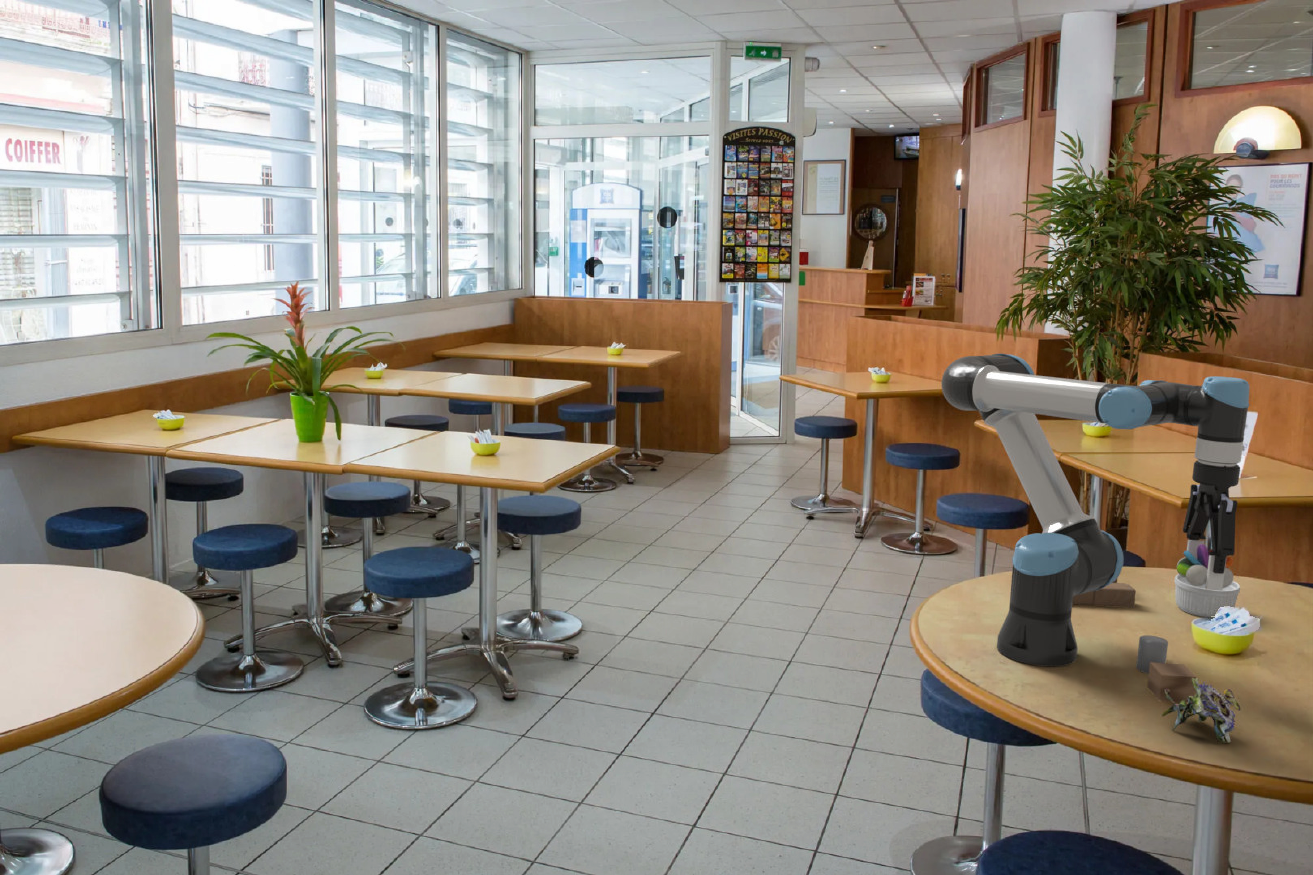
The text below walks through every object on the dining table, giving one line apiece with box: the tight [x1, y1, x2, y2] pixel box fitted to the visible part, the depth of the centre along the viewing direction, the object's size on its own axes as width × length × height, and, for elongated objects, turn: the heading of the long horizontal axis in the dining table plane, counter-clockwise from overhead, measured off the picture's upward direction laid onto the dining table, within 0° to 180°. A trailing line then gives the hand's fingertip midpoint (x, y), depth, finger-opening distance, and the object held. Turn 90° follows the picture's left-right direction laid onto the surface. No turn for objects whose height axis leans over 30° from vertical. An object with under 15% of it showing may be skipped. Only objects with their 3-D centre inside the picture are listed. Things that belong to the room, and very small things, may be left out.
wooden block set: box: [1072, 578, 1136, 609], centre depth 250 cm, size 17×6×18 cm
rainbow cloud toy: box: [1176, 543, 1234, 588], centre depth 197 cm, size 8×10×7 cm
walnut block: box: [1147, 662, 1197, 704], centre depth 193 cm, size 6×6×5 cm
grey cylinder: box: [1136, 634, 1169, 675], centre depth 205 cm, size 5×5×6 cm
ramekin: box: [1174, 573, 1241, 618], centre depth 241 cm, size 13×13×7 cm
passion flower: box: [1161, 678, 1241, 744], centre depth 178 cm, size 11×11×12 cm
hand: (1202, 581), depth 198 cm, fingers closed on rainbow cloud toy, 9 cm apart
